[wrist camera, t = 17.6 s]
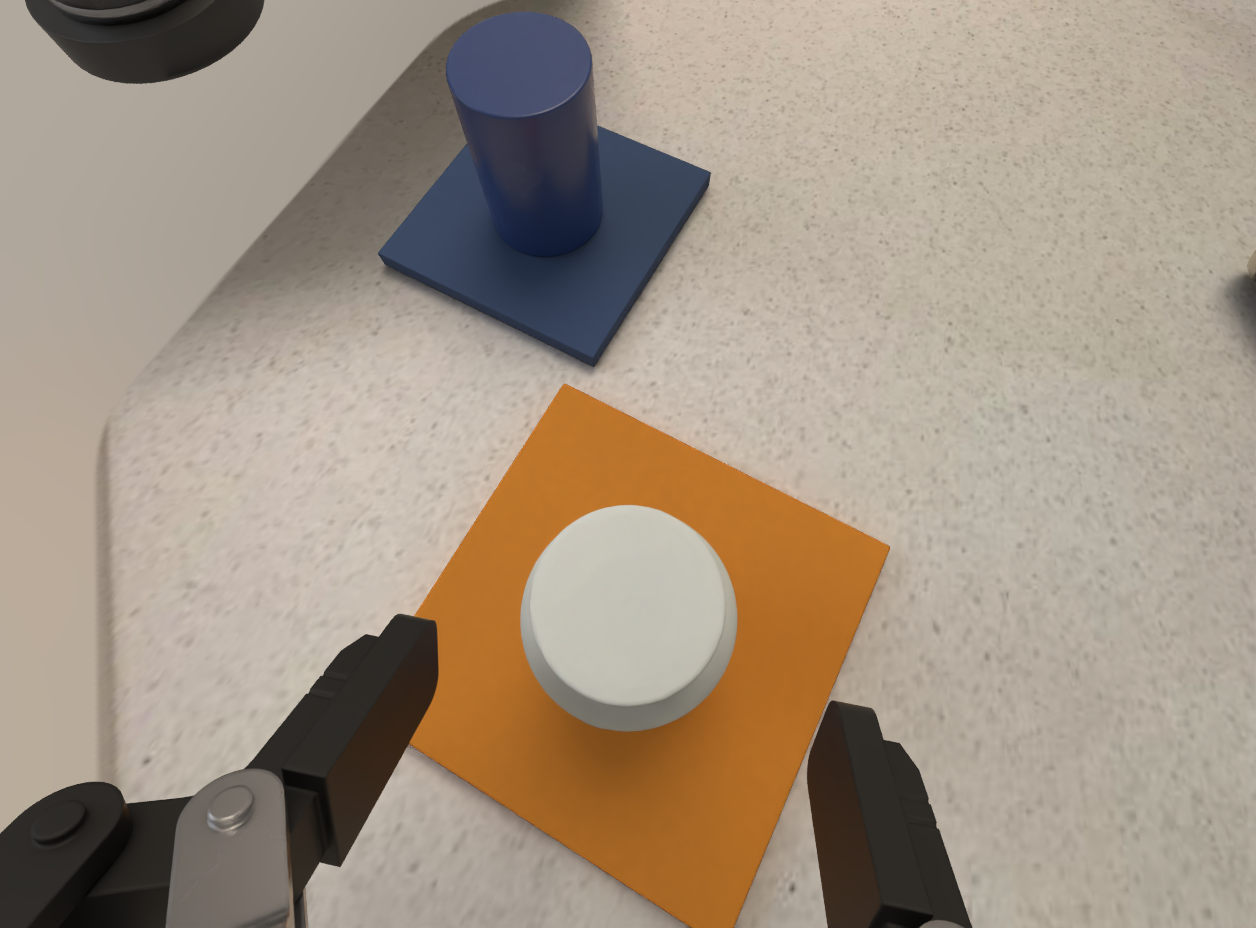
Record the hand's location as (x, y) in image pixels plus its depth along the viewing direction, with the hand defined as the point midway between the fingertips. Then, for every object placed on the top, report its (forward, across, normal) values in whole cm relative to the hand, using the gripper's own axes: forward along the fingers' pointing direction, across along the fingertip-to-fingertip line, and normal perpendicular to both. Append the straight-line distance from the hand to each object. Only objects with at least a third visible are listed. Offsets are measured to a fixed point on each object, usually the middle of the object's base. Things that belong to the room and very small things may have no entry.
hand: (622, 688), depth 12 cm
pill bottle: (+8, 0, +5) cm, 9 cm away
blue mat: (+20, +7, -7) cm, 22 cm away
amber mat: (+8, 0, +6) cm, 10 cm away
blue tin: (+20, +7, -7) cm, 22 cm away
